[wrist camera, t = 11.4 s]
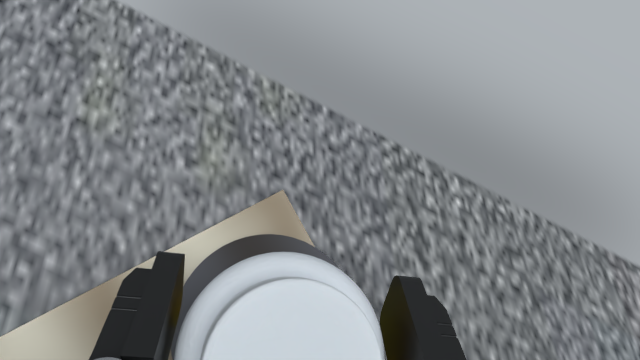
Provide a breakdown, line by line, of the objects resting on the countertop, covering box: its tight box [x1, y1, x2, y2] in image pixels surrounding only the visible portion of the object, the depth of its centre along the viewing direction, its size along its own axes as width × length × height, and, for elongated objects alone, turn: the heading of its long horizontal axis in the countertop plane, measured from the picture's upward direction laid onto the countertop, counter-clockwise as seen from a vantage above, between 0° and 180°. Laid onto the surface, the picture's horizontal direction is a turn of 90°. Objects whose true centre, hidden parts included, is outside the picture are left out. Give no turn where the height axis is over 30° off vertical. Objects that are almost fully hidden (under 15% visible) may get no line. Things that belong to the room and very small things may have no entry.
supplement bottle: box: [174, 252, 385, 360], centre depth 15 cm, size 6×6×10 cm
